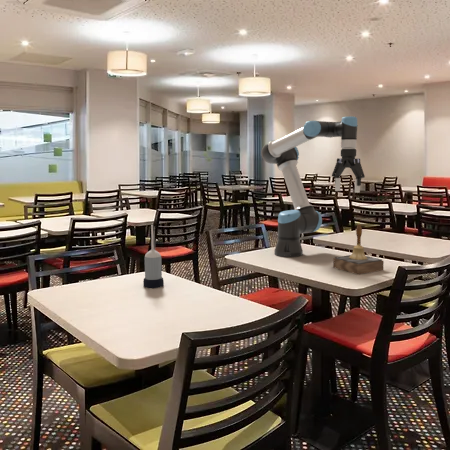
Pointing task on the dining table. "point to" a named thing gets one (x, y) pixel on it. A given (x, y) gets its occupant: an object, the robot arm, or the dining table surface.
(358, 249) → the hand bell
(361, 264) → the bell stand
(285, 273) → the dining table surface
